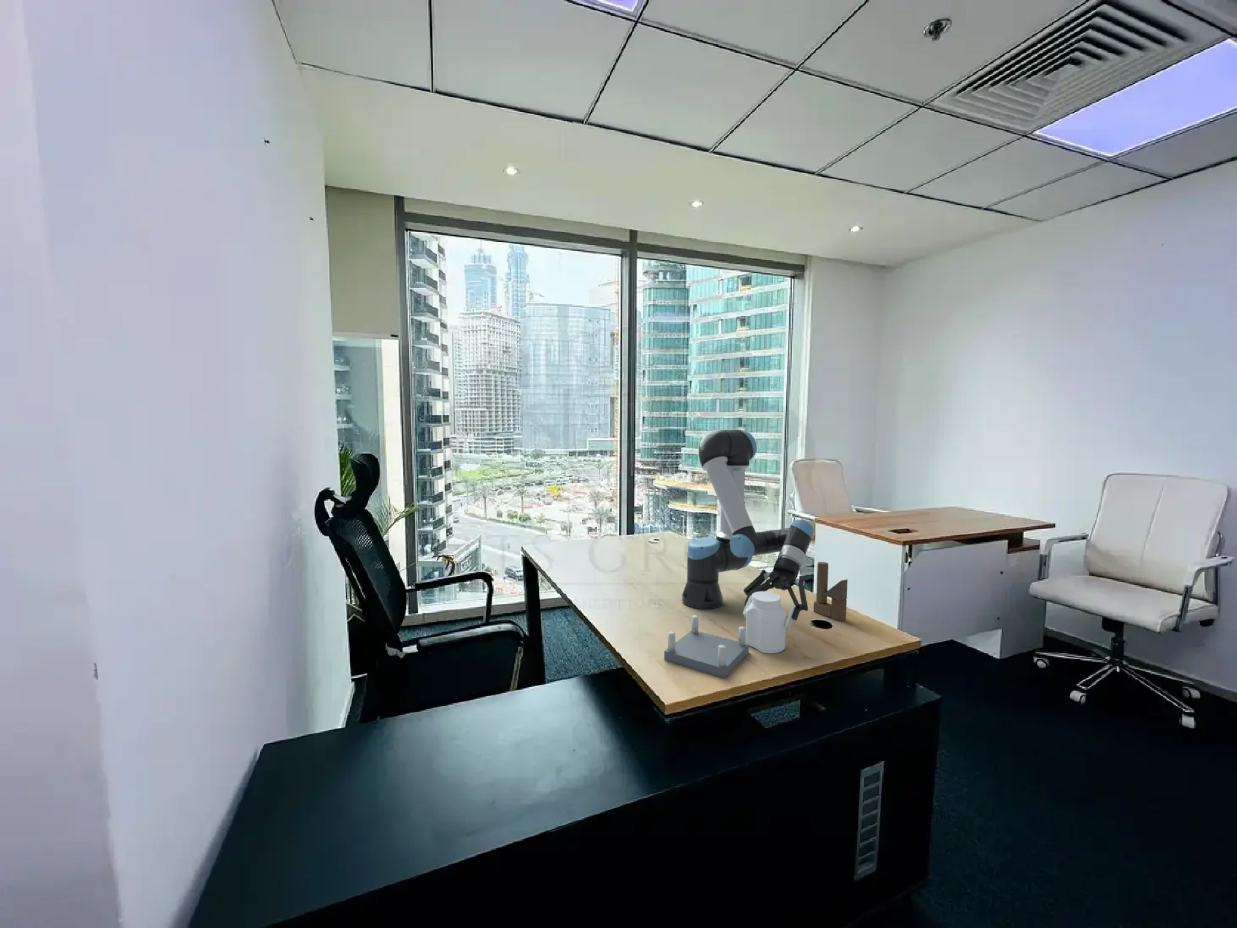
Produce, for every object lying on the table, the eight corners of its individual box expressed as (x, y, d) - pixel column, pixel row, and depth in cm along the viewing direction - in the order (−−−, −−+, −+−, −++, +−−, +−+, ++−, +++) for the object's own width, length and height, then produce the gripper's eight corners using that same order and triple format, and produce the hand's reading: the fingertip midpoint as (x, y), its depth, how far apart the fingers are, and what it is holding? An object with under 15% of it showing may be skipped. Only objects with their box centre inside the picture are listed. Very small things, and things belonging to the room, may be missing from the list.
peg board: (664, 659, 138) (664, 633, 137) (692, 637, 152) (692, 614, 152) (724, 678, 128) (725, 650, 127) (748, 652, 142) (749, 627, 142)
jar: (791, 647, 145) (792, 598, 144) (769, 656, 140) (770, 606, 138) (760, 633, 155) (761, 587, 153) (739, 641, 150) (740, 593, 148)
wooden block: (839, 621, 166) (841, 569, 165) (813, 611, 175) (814, 562, 174) (846, 619, 168) (848, 568, 166) (819, 609, 177) (821, 560, 176)
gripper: (831, 577, 150) (810, 639, 140) (757, 562, 167) (733, 617, 157) (825, 563, 146) (802, 627, 136) (749, 549, 163) (724, 605, 153)
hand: (765, 621), depth 147 cm, fingers open, 13 cm apart
